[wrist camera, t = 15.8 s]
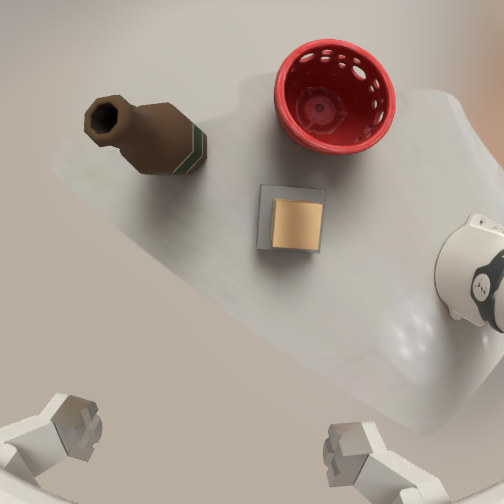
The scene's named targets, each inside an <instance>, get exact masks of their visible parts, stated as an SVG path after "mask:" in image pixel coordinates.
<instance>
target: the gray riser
mask: <svg viewBox="0 0 504 504" xmlns="http://www.w3.org/2000/svg"><path fill="white" fill-rule="evenodd" d="M325 196H326V190H320V189H311V188H301V187H289V186H277V185H264V184H261V188H260V202H259V216H258V230H257V249H264V250H278V251H293V252H308V253H320V246H321V237H322V228H323V218H324V207H325ZM274 198H279V199H291V200H302V201H313V202H316V203H319V204H322V215H321V225H320V235H319V244H318V250H312V249H297V248H283V247H273V245H272V242H271V239H270V237H271V225H272V212H273V199H274Z"/></svg>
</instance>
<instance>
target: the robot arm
mask: <svg viewBox="0 0 504 504" xmlns="http://www.w3.org/2000/svg"><path fill="white" fill-rule="evenodd" d="M480 221H481V223H480ZM435 282H436V288H437V291H438V294H439V296H440V298H441V299H442V300H443V301H444V302H445V303H446V305H447V306H448V308H449V312H450V316H451V317H452V318H453V319H454V320H460V319H464V318H465V319H467V320H468V321H470V322H472V323H473V324H475V325H477V326H479V327H482V326H484V325H489V326H490V327H491V328H492V329H494V330H496V331H498V332H500V333H504V227H503V226H502V225H500V224H498V223H496V222H494V221H492V220H490V219H489V218H487V217H485V216H483V215H481V214H479V213H476V212H474V213H472V214H471V216H470V217H469V218H468V220H467V222H466V223H465V225H464V226H463V227H461V228H460V229H458V230H457V231H456V232H454V233H453V234H452V235H451V236H450V237H449V239H448V240H447V241H446V243H445V244H444V246H443V248H442V250H441V252H440V255H439V257H438V261H437V265H436V271H435ZM97 411H98V408H97V405H96V403H95V402H93V401H89V400H85V399H82V398H79V397H76V396H72V395H68V394H65V393H62V392H58V393H57V394H56V395H55V396H54V397H53V398H52V400H51V401H50V402H49V404H48V405H47V406H46V407H45V409H44V410H43V411H42V412H41V413H40V415H39V416H36V415H35V416H32V417H29V418H27V419H24V420H21V421H18V422H16V423H13V424H10V425H7V426H5V427H2V428H0V504H78V503H75V502H72V501H70V500H67V499H64V498H62V497H60V496H57V495H55V494H53V493H50V492H48V491H46V490H43V489H41V487H40V486H39V484H38V483H37V481H36V480H35V477H36V476H38V475H40V474H41V473H43V472H45V471H46V470H48V469H49V468H51V467H53V466H54V465H56V464H58V463H59V462H61V461H62V460H64V459H65V458H67V457H68V456H70V457H74V458H76V459H80V460H83V461H86V462H88V460H89V459H90V457H91V455H92V453H93V451H94V448H93V444H94V443H97V442H99V439H100V437H101V434H102V422H101V419H100V417H99V416H98V415H97V414H96V413H97ZM328 434H329V438H327V439H326V440H325V443H324V447H323V459H324V464H325V465H326V466H328V467H329V469H328V471H327V477H328V482H329V486H330V487H338V486H348V485H353V486H354V487H355V488H356V489H357V490H358V491H359V492H360V493H361V494H362V495H363V496H364V497H365V498H366V499H368V500H369V501H370V502H371V503H372V504H504V480H502V481H500V482H498V483H496V484H494V485H492V486H490V487H488V488H486V489H483V490H481V491H479V492H477V493H474V494H472V495H470V496H467V497H465V498H462V499H460V500H458V501H455V502H452V503H451V501H450V499H449V497H448V495H447V493H446V492H445V490H444V488H443V486H442V484H441V482H440V480H439V479H438V478H436V477H435V476H433V475H431V474H429V473H428V472H426V471H424V470H422V469H421V468H419V467H417V466H416V465H414V464H412V463H410V462H409V461H407V460H406V459H404V458H402V457H401V456H399V455H398V454H396V453H394V452H393V451H387V449H386V446H385V444H384V442H383V440H382V438H381V436H380V433H379V431H378V429H377V427H376V425H375V423H374V422H373V421H363V422H353V423H340V424H331V425H330V427H329V430H328Z"/></svg>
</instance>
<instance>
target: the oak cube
mask: <svg viewBox="0 0 504 504" xmlns="http://www.w3.org/2000/svg"><path fill="white" fill-rule="evenodd" d="M321 215H322V204H319V203H316V202H313V201H302V200H291V199H279V198H274V199H273V212H272V225H271V237H270V239H271V242H272V245H273V247H283V248H297V249H312V250H318V244H319V235H320V225H321Z"/></svg>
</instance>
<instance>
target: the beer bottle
mask: <svg viewBox="0 0 504 504" xmlns="http://www.w3.org/2000/svg"><path fill="white" fill-rule="evenodd" d="M84 132H85V133H86V134H87V135H88V136H89V137H90V138H91V139H92V140H93V141H94V142H95V143H96V144H97V145H98V146H99V147H104V146H113V147H116V148H119V149H120V153H121V155H122V156H123V157H124V158H125V159H126V160H127V161H128V162H129V163H130V164H131V165H132V166H133V167H134V168H135V169H136V170H137V171H138V172H139V173H141V174H145V175H179V174H192V173H193V172H194V171H195V170H196V169H197V168H198V167H199V165H200V164H201V163H202V162H203V161H204V160H205V159H206V158H207V136H206V135H205V134H204V133H203V132H202V131H201V130H200V129H199V128H198V127H197V126H196V125H195V124H194V123H192V122H191V121H190V120H189V119H188V118H187V117H186V116H185V115H183V114H182V113H181V112H180V111H179V110H178V109H176V107H174V106H173V105H172V104H170V103H158V104H151V105H142V106H139V107H136V106H133V105H131V104H129V103H128V102H127V101H126V100H125V99H124V98H123V97H122V96H120V95H112V96H108V97H102V98H98V99H96V100H95V101H94V103H93V104H92V105H91V106H90V108H89V109H88V110H87V111H86V113H85V122H84Z"/></svg>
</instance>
